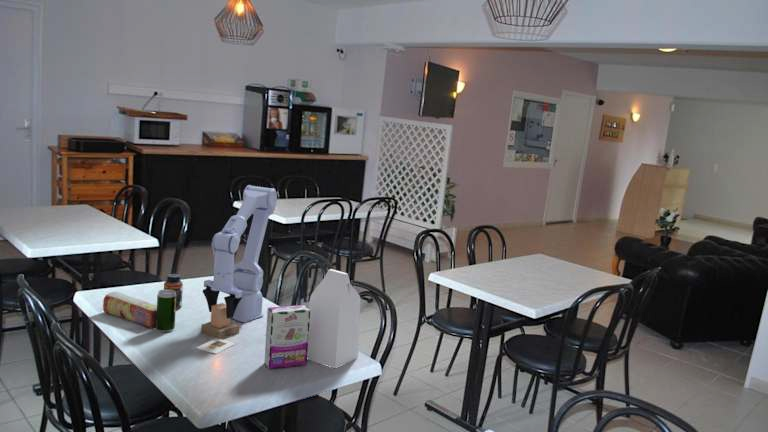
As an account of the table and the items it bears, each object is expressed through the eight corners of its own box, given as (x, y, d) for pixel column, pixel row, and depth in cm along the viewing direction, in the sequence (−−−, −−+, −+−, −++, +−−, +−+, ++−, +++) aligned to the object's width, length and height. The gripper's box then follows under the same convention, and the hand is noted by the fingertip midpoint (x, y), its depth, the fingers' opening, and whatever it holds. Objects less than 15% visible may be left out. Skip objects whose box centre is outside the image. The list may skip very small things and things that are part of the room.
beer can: (158, 333, 182) (159, 295, 180) (154, 327, 186) (155, 289, 184) (176, 331, 185) (178, 293, 183) (172, 325, 189) (173, 288, 187)
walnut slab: (220, 327, 193) (221, 318, 192) (238, 334, 189) (239, 325, 188) (201, 333, 186) (201, 324, 186) (219, 341, 182) (219, 331, 182)
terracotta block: (220, 321, 190) (221, 303, 189) (229, 325, 188) (230, 306, 187) (210, 324, 186) (211, 305, 185) (219, 328, 184) (220, 309, 183)
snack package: (166, 324, 190) (167, 304, 189) (149, 330, 184) (150, 309, 183) (118, 308, 199) (118, 289, 198) (100, 314, 193) (101, 293, 192)
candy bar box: (300, 358, 175) (305, 304, 172) (307, 365, 170) (311, 310, 168) (262, 362, 170) (267, 306, 167) (268, 370, 165) (272, 312, 162)
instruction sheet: (216, 338, 182) (216, 337, 182) (235, 344, 180) (235, 343, 180) (196, 348, 174) (196, 347, 174) (216, 354, 172) (216, 353, 172)
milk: (301, 356, 176) (309, 270, 172) (325, 345, 186) (333, 263, 181) (335, 369, 170) (343, 280, 166) (358, 357, 180) (366, 272, 175)
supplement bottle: (185, 308, 205) (187, 275, 203) (170, 312, 200) (172, 279, 198) (173, 303, 208) (175, 271, 206) (159, 307, 203) (160, 274, 201)
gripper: (196, 268, 184) (194, 311, 187) (231, 279, 177) (228, 323, 179) (214, 264, 190) (212, 306, 193) (248, 275, 183) (245, 318, 185)
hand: (221, 314), depth 186 cm, fingers open, 7 cm apart
